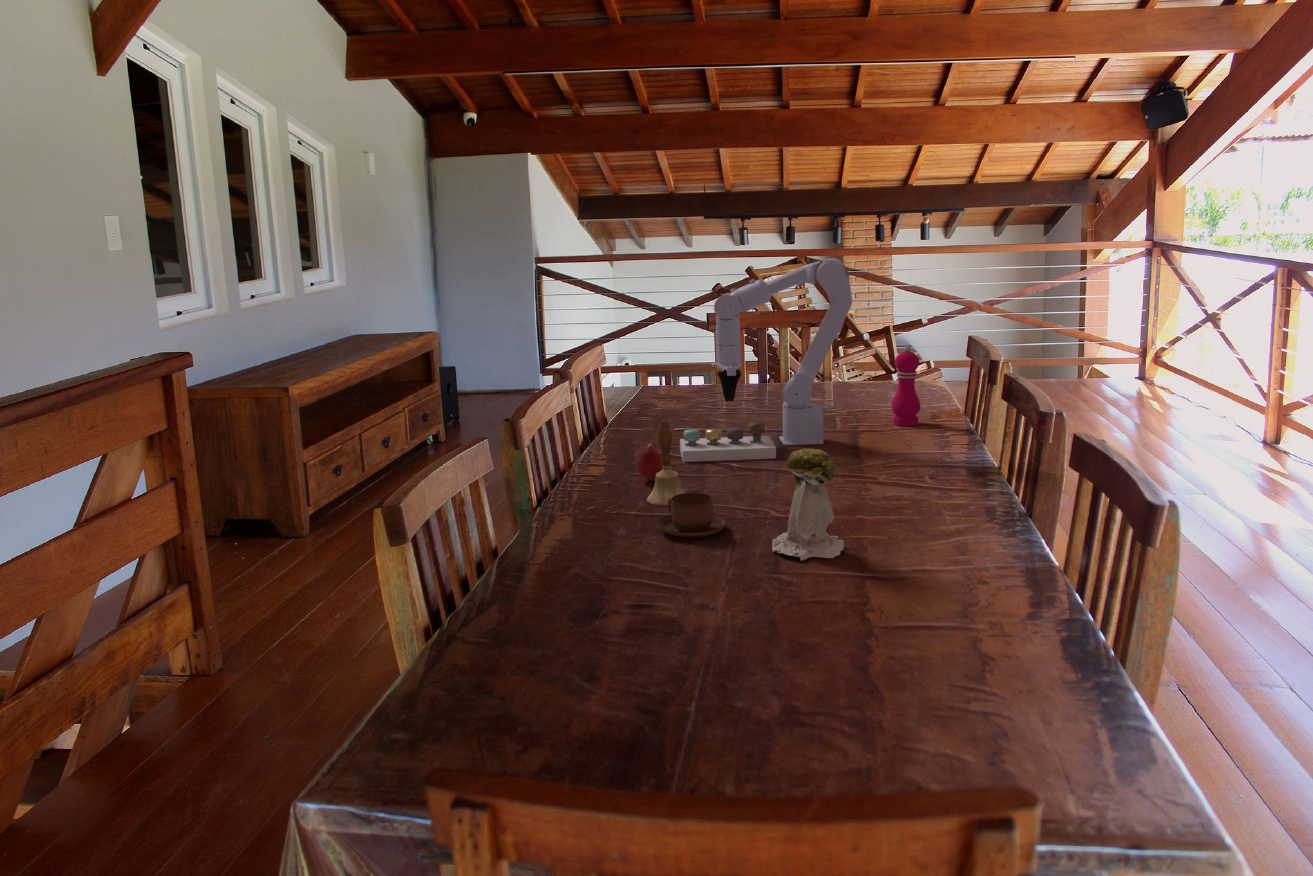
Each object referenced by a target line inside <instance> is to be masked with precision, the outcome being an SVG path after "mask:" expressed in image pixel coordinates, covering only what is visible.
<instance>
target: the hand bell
mask: <svg viewBox="0 0 1313 876" xmlns="http://www.w3.org/2000/svg"><path fill="white" fill-rule="evenodd" d="M657 434H658V444H659V448H660V450H661V455H662V465H663V466H662V468H663V469H662V470H661V471H660V472H658V473H657V474H656V479H655V480H654V486H653V489H652V491H651V493H650V494H649V495H648V496H647V498H646V502H647V503H649V504H650V505H653V506H660V507H668V505H667V504H668V500H669V499H670V498H672V497H673V496H675V495H678V494H683V493H686V492H685V491H684V490H683V488H682V485H681V482H680V475H679V473H678V472H677V471H675V470H673V469H672V462H671V452H670V451H671V446H672V440H673V439H672V438H673V436H672V430H671V427H670V425H669V421H668V420H665V419H662V420H660V425H659V428H658V433H657Z"/></svg>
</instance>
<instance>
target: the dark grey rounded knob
mask: <svg viewBox="0 0 1313 876" xmlns="http://www.w3.org/2000/svg"><path fill="white" fill-rule="evenodd" d="M726 434H727V435H726V437H727V438H728V439H731V445H734V444H739V439H743V437H744V429H743V428H741V427H729V428H727V430H726Z"/></svg>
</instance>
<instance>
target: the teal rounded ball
mask: <svg viewBox="0 0 1313 876" xmlns="http://www.w3.org/2000/svg"><path fill="white" fill-rule="evenodd" d="M700 436H701V435H700V430H699V429H695V428H694V429H692V428H691V429H686V430H683V439H684V440H685V441H688V446H696V441H698V440H700V438H701V437H700Z"/></svg>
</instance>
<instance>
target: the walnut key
mask: <svg viewBox="0 0 1313 876" xmlns="http://www.w3.org/2000/svg"><path fill="white" fill-rule="evenodd" d="M748 433H750V434H752V436H753V442H761V436H762V434H764V433H766V425H765V422H763V421H751V422H749V423H748Z"/></svg>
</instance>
